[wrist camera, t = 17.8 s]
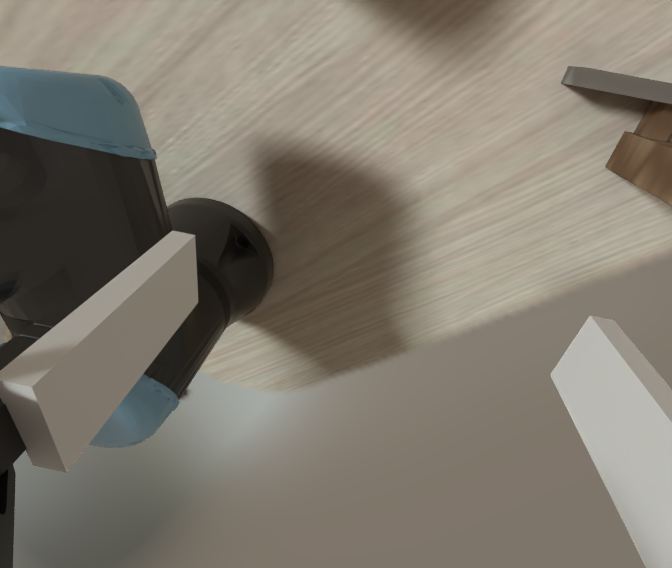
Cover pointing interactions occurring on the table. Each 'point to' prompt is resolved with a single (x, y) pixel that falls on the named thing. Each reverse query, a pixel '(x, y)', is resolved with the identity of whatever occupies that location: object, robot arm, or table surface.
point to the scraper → (637, 129)
